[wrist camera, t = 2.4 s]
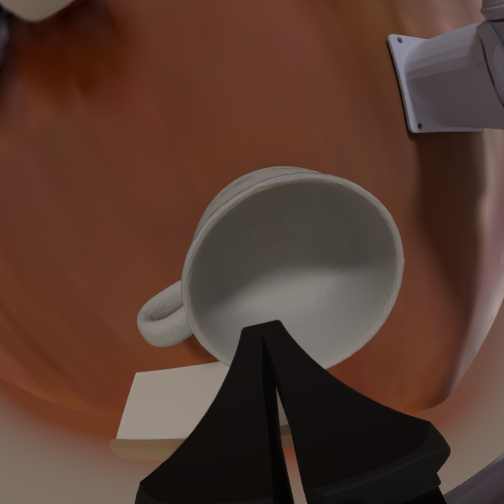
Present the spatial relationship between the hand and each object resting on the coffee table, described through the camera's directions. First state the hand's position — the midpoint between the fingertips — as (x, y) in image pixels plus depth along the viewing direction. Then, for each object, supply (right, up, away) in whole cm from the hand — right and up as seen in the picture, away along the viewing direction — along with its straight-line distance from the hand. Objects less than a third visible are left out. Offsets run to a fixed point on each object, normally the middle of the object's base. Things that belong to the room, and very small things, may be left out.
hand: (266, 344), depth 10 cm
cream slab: (-3, -6, +13) cm, 15 cm away
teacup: (0, +4, +10) cm, 11 cm away
